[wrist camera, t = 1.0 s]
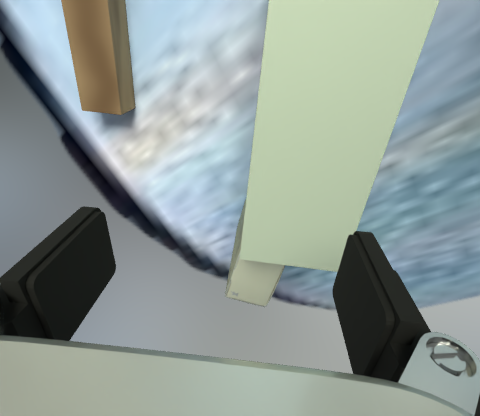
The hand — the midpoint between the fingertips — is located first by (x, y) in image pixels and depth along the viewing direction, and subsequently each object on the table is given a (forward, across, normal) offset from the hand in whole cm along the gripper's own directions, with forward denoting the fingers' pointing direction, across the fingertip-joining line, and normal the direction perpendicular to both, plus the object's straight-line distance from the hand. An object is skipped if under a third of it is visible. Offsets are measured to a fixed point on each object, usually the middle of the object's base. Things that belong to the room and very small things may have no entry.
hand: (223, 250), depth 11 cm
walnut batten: (+23, +15, -8) cm, 28 cm away
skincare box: (+23, -2, +12) cm, 26 cm away
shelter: (+23, -4, -4) cm, 23 cm away
